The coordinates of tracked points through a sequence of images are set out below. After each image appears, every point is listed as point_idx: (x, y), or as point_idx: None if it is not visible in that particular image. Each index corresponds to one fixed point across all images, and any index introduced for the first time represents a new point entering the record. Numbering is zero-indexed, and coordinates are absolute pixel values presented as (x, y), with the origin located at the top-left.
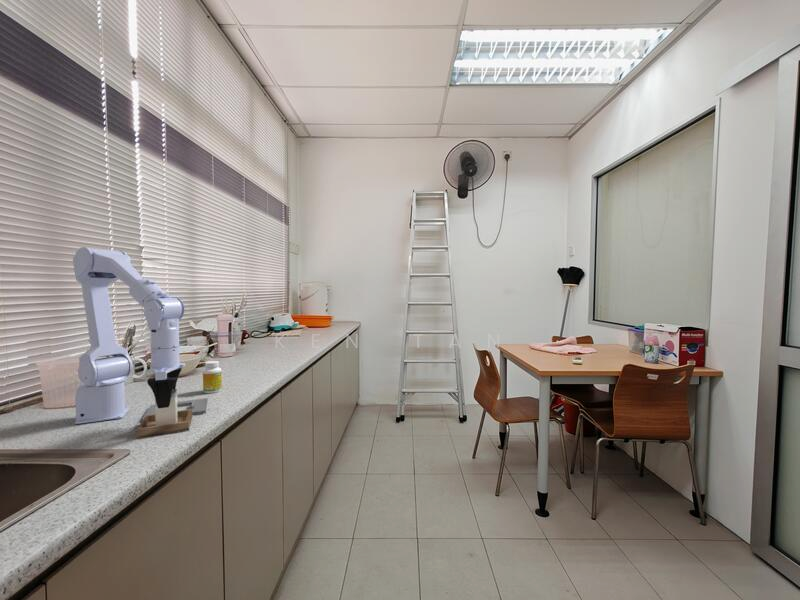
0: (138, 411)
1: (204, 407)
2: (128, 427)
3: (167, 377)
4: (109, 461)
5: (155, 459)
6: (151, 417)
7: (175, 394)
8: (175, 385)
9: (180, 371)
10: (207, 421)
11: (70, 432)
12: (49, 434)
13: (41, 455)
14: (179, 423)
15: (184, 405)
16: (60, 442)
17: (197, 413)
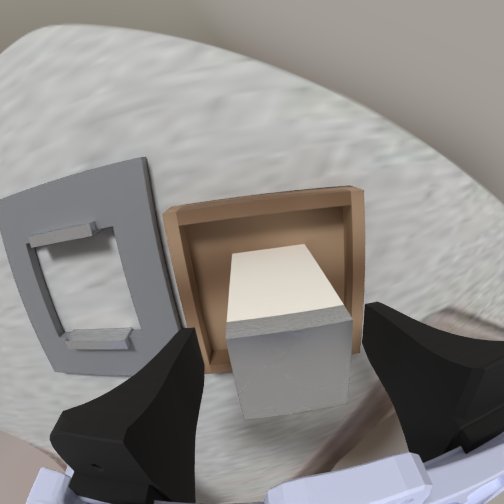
0: (86, 389)
1: (96, 175)
2: (229, 386)
3: (480, 420)
4: (458, 331)
5: (498, 237)
6: (208, 352)
7: (330, 315)
8: (172, 365)
9: (130, 426)
10: (266, 125)
11: (223, 463)
12: (223, 479)
13: (345, 450)
14: (363, 225)
15: (40, 272)
16: (284, 457)
17: (150, 190)
